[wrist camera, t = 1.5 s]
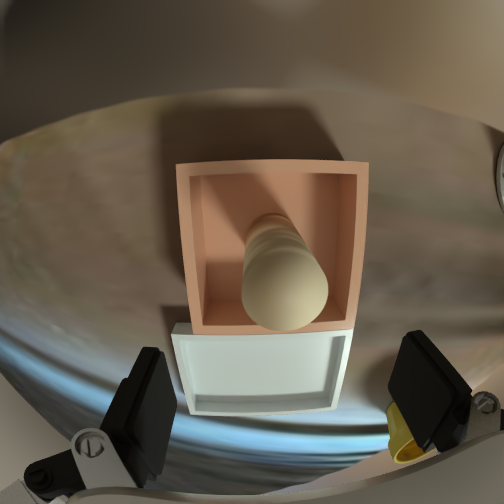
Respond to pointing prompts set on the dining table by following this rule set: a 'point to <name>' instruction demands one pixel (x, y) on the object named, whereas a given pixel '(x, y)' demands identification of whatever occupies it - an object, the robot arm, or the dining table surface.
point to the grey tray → (261, 371)
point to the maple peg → (280, 276)
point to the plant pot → (401, 438)
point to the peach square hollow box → (262, 202)
